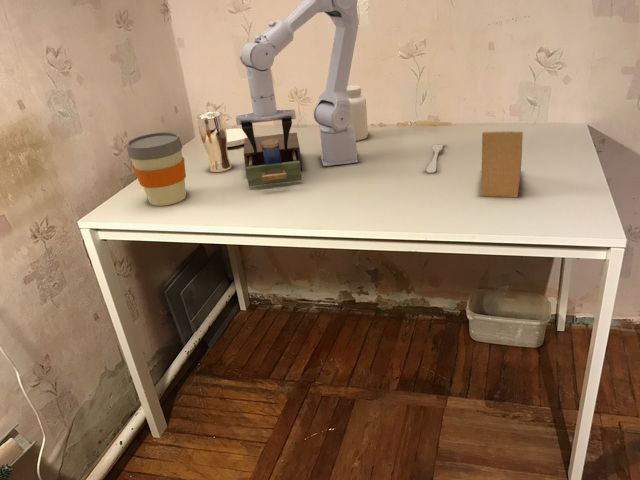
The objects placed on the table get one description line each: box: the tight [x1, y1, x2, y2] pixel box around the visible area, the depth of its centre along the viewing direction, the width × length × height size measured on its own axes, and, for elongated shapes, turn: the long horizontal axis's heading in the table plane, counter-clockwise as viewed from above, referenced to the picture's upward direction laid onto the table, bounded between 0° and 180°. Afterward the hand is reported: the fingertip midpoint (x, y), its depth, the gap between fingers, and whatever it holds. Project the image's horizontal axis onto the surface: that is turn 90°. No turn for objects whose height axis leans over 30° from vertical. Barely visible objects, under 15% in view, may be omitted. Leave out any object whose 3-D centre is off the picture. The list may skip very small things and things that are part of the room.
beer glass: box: [197, 111, 232, 173], centre depth 157 cm, size 7×7×15 cm
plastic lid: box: [226, 127, 248, 148], centre depth 181 cm, size 14×14×2 cm
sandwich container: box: [480, 130, 524, 198], centre depth 134 cm, size 9×15×15 cm, turn 166°
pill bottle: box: [346, 85, 369, 142], centre depth 173 cm, size 8×8×15 cm
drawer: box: [245, 150, 303, 187], centre depth 148 cm, size 17×13×5 cm
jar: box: [261, 139, 282, 165], centre depth 148 cm, size 5×5×8 cm
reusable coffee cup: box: [126, 131, 187, 207], centre depth 141 cm, size 12×12×15 cm
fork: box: [426, 144, 444, 174], centre depth 155 cm, size 3×21×3 cm, turn 167°
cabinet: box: [243, 132, 303, 172], centre depth 158 cm, size 14×15×7 cm
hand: (270, 149), depth 147 cm, fingers open, 7 cm apart
